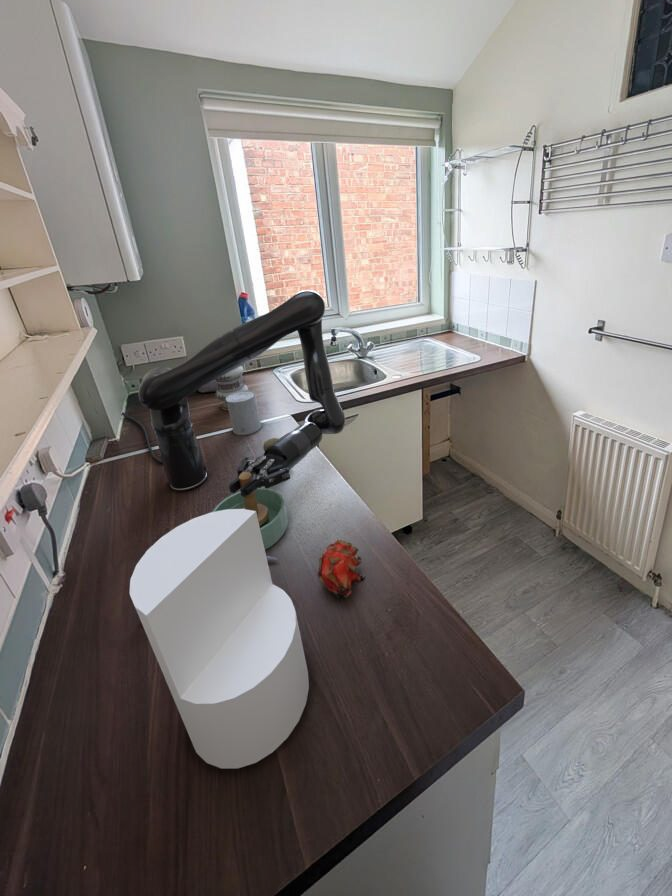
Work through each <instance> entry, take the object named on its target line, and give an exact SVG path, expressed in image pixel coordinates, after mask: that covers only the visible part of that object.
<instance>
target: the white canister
mask: <svg viewBox="0 0 672 896" xmlns="http://www.w3.org/2000/svg"><path fill="white" fill-rule="evenodd" d="M226 402H227V406H228V410H227V411H228V415H229V419H230V423H231V427H232V432H233V433H234V434H235V435H236V436H237V435H238V436H245V435H251V434H254V433H256V432H257V431H259V430H260V429H261V428H262V423H261V417H260V412H259V409H258V408H259V407H258V402H257V397H256V393H255V391H253V390H248V391H238V392H235V393H232V394H230V395H228V396H227V397H226Z"/></svg>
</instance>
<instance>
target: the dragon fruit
mask: <svg viewBox="0 0 672 896" xmlns="http://www.w3.org/2000/svg"><path fill="white" fill-rule="evenodd" d="M325 549H326V550H325V552H323V553H322V554H321V557H319V558H318V571H317V577H318V579H319V580H320V582H321V583H322V585H323V586H324V587H325V589H326V590H327V591H329V592H331V593H333V594H334V595H335V596H336V598H341V596H343V597H344V598H347V597H348V596H350V595H351V594H352V593H353V588H352V582H355V583H357V584H359V583H361V582H364V581H365V579H366V576H367V575H366V573H364V574H362V575H361V573H360V572H359V571H358V570H357V567H358V566H359V565H361V564H362V563H363V559H362V557H360V556H358V557H356V555H357V554H358V551H359V549H358V547H357V546H353V544H352V543H351V542H349V541H345V540H342V539H340V540H339V539H336V540H335V541H334V542H333V543H331V544H328V545H327V546H326V547H325Z"/></svg>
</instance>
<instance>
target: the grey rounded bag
mask: <svg viewBox="0 0 672 896" xmlns="http://www.w3.org/2000/svg"><path fill="white" fill-rule="evenodd" d="M242 380H243V378H242ZM217 389H218V388H217V383H216V380H213V381H211V382H209V383H207V384H205V385H204V386H202V387H200V388H199V389H197V392H199V393H216V391H217Z"/></svg>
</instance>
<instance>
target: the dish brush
mask: <svg viewBox="0 0 672 896" xmlns="http://www.w3.org/2000/svg"><path fill="white" fill-rule="evenodd" d="M250 480H252V475H251V473H249V472H245V473H242V474H240V476H239V481H240V486H241V487H242V486H244V485H245V484H246V483H248V482H249V481H250ZM243 500H244V505H245V507H244V508H243V509H246V510H252V511H256V513H257V518H258V522H259V527H260V528H262V527H263V526H265V525H266V524H268V523H269V517H268V509H267V507H266V506H265V505H262V504H257V501H256V496H255V491H253V492H252V493H251V494H249V495H247V496H246V497H243Z"/></svg>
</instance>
